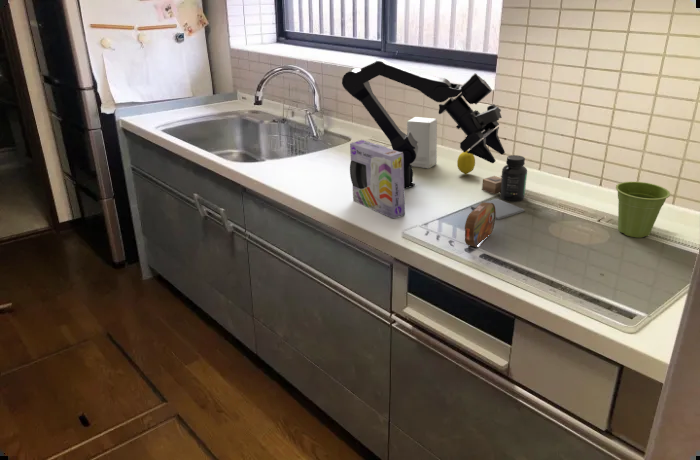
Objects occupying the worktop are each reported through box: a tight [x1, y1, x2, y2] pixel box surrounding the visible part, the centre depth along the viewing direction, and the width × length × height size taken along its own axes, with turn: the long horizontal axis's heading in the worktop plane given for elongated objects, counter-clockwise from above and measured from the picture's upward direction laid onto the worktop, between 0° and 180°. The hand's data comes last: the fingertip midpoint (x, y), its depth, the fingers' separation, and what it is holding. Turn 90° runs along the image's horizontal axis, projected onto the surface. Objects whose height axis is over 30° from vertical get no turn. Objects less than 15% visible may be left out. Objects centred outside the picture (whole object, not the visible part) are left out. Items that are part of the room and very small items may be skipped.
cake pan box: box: [349, 139, 406, 219], centre depth 159 cm, size 19×5×18 cm, turn 36°
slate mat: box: [470, 198, 525, 220], centre depth 160 cm, size 10×10×1 cm
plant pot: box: [615, 181, 671, 239], centre depth 142 cm, size 12×12×11 cm
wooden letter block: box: [481, 175, 501, 195], centre depth 173 cm, size 5×5×4 cm
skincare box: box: [406, 116, 438, 170], centre depth 194 cm, size 8×7×16 cm
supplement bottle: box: [499, 154, 528, 203], centre depth 165 cm, size 7×7×12 cm
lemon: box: [456, 149, 476, 176], centre depth 186 cm, size 6×6×8 cm
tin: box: [464, 201, 496, 248], centre depth 141 cm, size 15×3×8 cm, turn 148°
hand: (499, 157), depth 165 cm, fingers open, 9 cm apart
